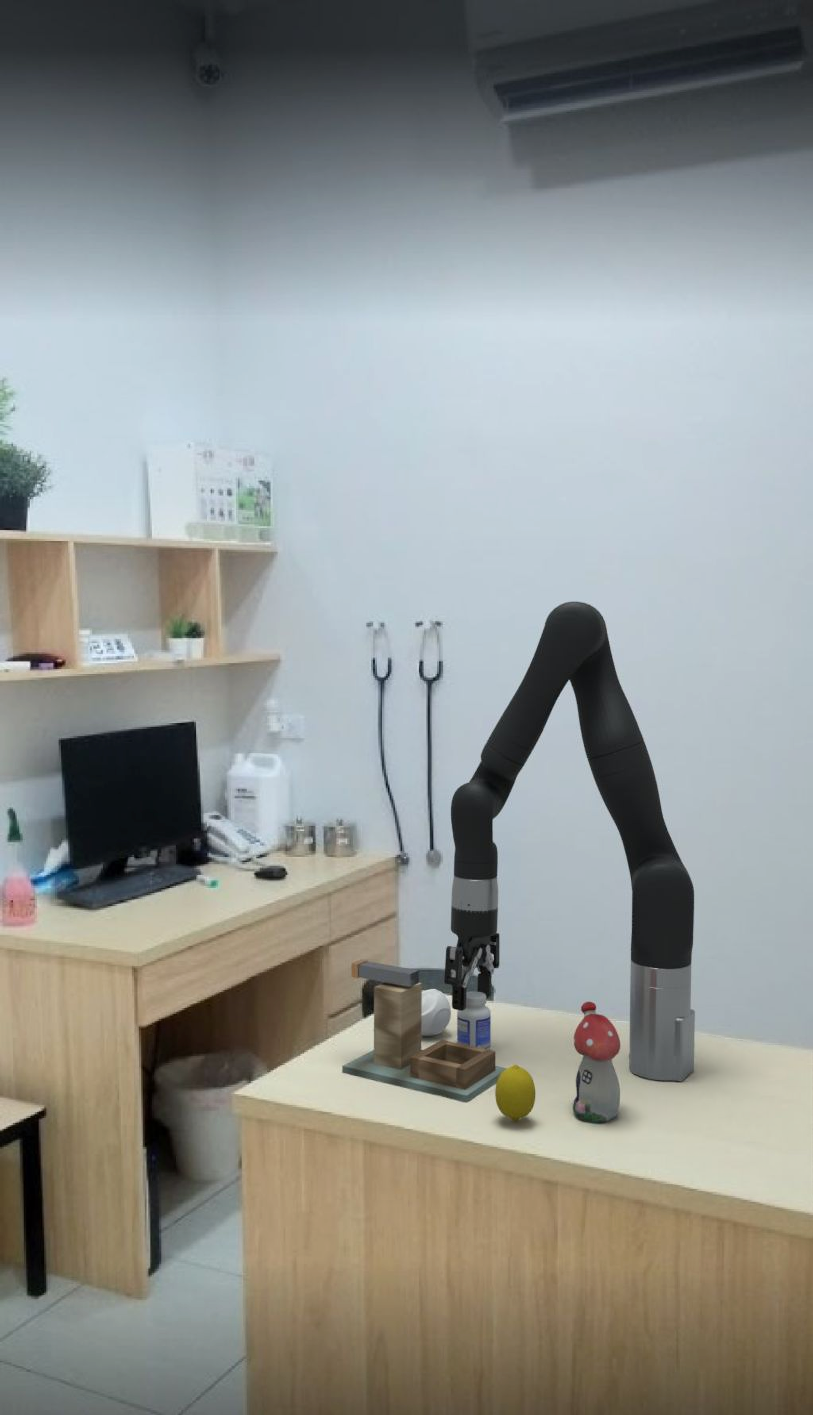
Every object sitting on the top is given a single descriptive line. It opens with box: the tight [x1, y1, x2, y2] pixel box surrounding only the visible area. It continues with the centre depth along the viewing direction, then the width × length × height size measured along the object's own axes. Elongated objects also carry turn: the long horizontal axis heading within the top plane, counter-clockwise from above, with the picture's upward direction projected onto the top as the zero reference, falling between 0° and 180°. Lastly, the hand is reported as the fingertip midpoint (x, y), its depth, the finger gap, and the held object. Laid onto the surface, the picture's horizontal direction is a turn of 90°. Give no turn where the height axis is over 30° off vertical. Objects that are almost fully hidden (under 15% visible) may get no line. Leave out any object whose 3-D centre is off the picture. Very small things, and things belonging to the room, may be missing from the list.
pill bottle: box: [456, 991, 492, 1050], centre depth 185 cm, size 5×5×10 cm
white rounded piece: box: [421, 988, 452, 1037], centre depth 194 cm, size 8×8×8 cm
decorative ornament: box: [572, 1001, 621, 1124], centre depth 161 cm, size 9×6×15 cm
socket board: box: [341, 982, 508, 1103], centre depth 176 cm, size 22×13×13 cm, turn 58°
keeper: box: [351, 959, 420, 987], centre depth 179 cm, size 11×3×2 cm, turn 58°
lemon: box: [494, 1064, 536, 1123], centre depth 158 cm, size 6×6×8 cm
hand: (471, 1002), depth 185 cm, fingers open, 8 cm apart
